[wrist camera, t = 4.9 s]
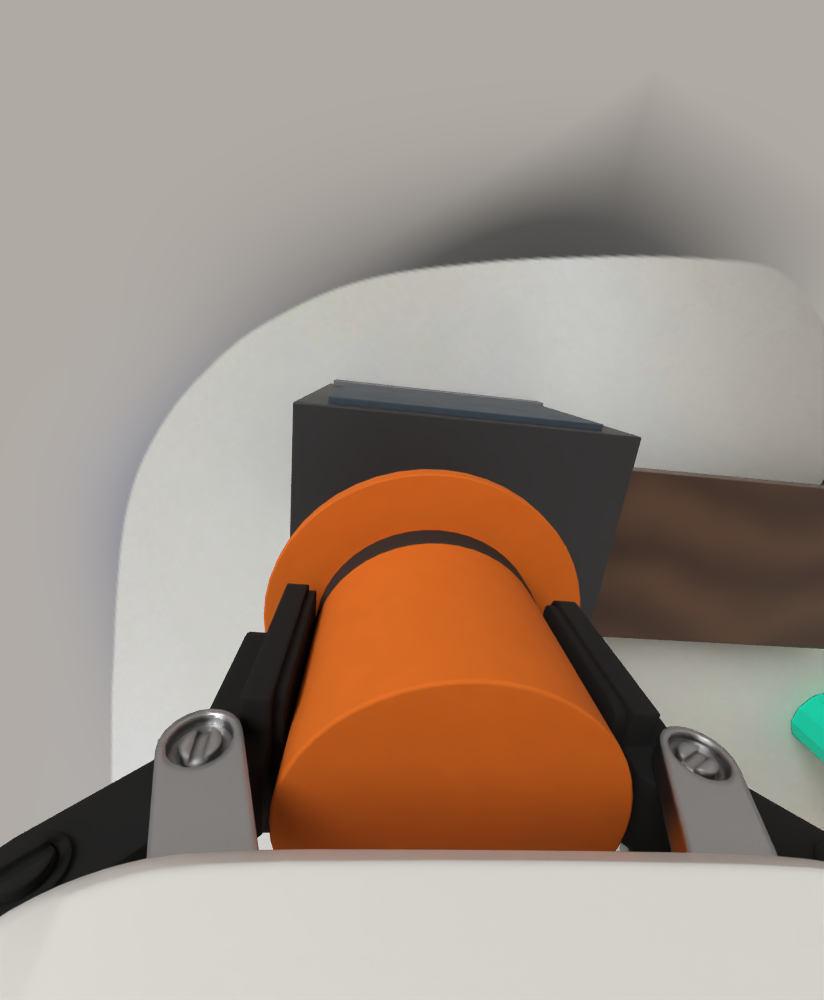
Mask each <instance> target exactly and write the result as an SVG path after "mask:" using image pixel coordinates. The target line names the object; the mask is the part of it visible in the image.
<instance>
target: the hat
mask: <svg viewBox="0 0 824 1000" xmlns="http://www.w3.org/2000/svg"><path fill="white" fill-rule="evenodd" d="M288 583H291V584H307V585H309V590H315V591H316V593H317V596H316V619H315V624H314V634H313V638H312V642H311V646H310V650H309V654H308V658H307V662H306V666H305V670H304V674H303V678H302V682H301V686H300V690H299V694H298V698H297V702H296V706H295V710H294V714H293V717H292V721H291V725H290V729H289V733H288V737H287V741H286V745H285V749H284V753H283V757H282V761H281V765H280V769H279V773H278V777H277V781H276V785H275V789H274V793H273V797H272V801H271V806H270V816H269V828H270V839H271V844H272V847H273V850H294V849H406V850H539V851H616V849H617V848H618V846H619V844H620V842H621V840H622V838H623V836H624V834H625V832H626V829H627V826H628V823H629V819H630V816H631V810H632V802H633V790H632V778H631V774H630V770H629V766H628V763H627V760H626V758H625V756H624V754H623V752H622V749H621V747H620V745H619V744H618V742H617V740H616V739H615V737H614V735H613V734H612V732H611V730H610V728H609V727H608V725H607V723H606V722H605V720H604V718H603V717H602V715H601V713H600V712H599V710H598V708H597V707H596V705H595V703H594V701H593V700H592V698H591V696H590V695H589V693H588V691H587V690H586V688H585V686H584V685H583V683H582V681H581V680H580V678H579V676H578V674H577V673H576V671H575V669H574V668H573V666H572V664H571V663H570V661H569V659H568V658H567V656H566V654H565V653H564V651H563V649H562V648H561V646H560V644H559V642H558V641H557V639H556V637H555V636H554V634H553V632H552V631H551V629H550V627H549V626H548V624H547V622H546V621H545V619H544V617H543V612H544V609H545V607H546V606H547V605H551V603H552V602H553V601H554V600H555V601H570V602H575V603H576V604H577V605H578V606H579V607H580V592H579V582H578V578H577V574H576V570H575V567H574V563H573V561H572V559H571V556H570V554H569V552H568V550H567V547H566V546H565V544H564V543H563V541H562V539H561V538H560V536H559V535H558V533H557V532H556V530H555V529H554V528H553V527H552V526H551V525H550V524H549V522H548V521H547V520H546V519H545V518H544V517H543V516H542V515H541V514H540V512H539V511H537V510H536V509H535V508H534V507H533V506H531V505H530V504H529V503H528V502H527V501H526V500H524V499H523V498H522V497H520V496H518V495H517V494H515V493H514V492H512V491H510V490H509V489H507V488H505V487H503V486H501V485H499V484H496V483H494V482H492V481H490V480H487V479H484V478H481V477H477V476H474V475H471V474H467V473H462V472H455V471H449V470H434V469H418V470H409V471H399V472H395V473H390V474H386V475H382V476H377V477H374V478H372V479H369V480H366V481H364V482H361V483H358V484H356V485H354V486H352V487H350V488H348V489H346V490H344V491H342V492H340V493H338V494H337V495H335V496H334V497H332V498H331V499H329V500H328V501H327V502H325V503H324V504H322V505H321V506H320V507H318V508H317V509H316V510H315V511H314V512H313V513H312V514H311V515H310V516H309V517H308V518H306V519H305V520H304V521H303V522H302V524H301V525H300V526H299V527H298V529H297V530H296V531H295V532H294V533H293V535H292V536H291V537H290V539H289V541H288V542H287V544H286V546H285V547H284V549H283V551H282V552H281V554H280V556H279V558H278V560H277V562H276V564H275V567H274V569H273V572H272V574H271V577H270V579H269V584H268V588H267V592H266V596H265V607H264V624H265V633H267V631H268V628H269V626H270V624H271V621H272V619H273V616H274V614H275V612H276V609H277V607H278V604H279V602H280V600H281V597H282V595H283V592H284V590H285V588H286V585H287V584H288Z"/></svg>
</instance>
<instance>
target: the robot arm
mask: <svg viewBox="0 0 824 1000" xmlns="http://www.w3.org/2000/svg"><path fill="white" fill-rule="evenodd" d="M316 596H317V593H316V591H315V590H309V585H307V584H291V583H288V584H287V585H286V588H285V590H284V592H283V595H282V597H281V600H280V602H279V604H278V607H277V609H276V612H275V614H274V616H273V619H272V621H271V624H270V626H269V628H268V631H267V633H261V632H249V633H247V635H246V636H245V638H244V640H243V642H242V644H241V646H240V648H239V650H238V652H237V654H236V656H235V658H234V661H233V663H232V665H231V667H230V669H229V671H228V673H227V675H226V677H225V679H224V681H223V683H222V685H221V687H220V689H219V691H218V693H217V695H216V697H215V700H214V702H213V704H212V706H211V708H210V709H206V710H199V711H196V712H193V713H190V714H187V715H186V716H184V717H182V718H180V719H179V720H177V721H175V722H174V723H173V724H172V725H171V726H170V727H168V728H167V729H166V730H165V731H164V733H163V734H162V736H161V737H160V739H159V740H158V743H157V746H156V750H155V758H154V760H153V761H151V762H149V763H148V764H146V765H144V766H142V767H140V768H139V769H137V770H135V771H133V772H131V773H130V774H128V775H126V776H124V777H123V778H121V779H119V780H117V781H115V782H114V783H112V784H110V785H108V786H107V787H105V788H103V789H101V790H99V791H98V792H96V793H94V794H92V795H90V796H89V797H87V798H85V799H83V800H81V801H80V802H78V803H76V804H74V805H73V806H71V807H69V808H67V809H65V810H64V811H62V812H60V813H58V814H56V815H55V816H53V817H51V818H49V819H47V820H46V821H44V822H42V823H41V824H39V825H37V826H35V827H33V828H31V829H30V830H28V831H26V832H24V833H22V834H21V835H19V836H17V837H15V838H14V839H12V840H11V841H9V842H8V843H6V844H5V845H3V846H2V847H0V1000H824V831H823V830H821V829H819V828H817V827H816V826H814V825H812V824H810V823H809V822H807V821H805V820H803V819H802V818H800V817H798V816H796V815H795V814H793V813H791V812H789V811H788V810H786V809H784V808H782V807H781V806H779V805H777V804H775V803H774V802H772V801H770V800H768V799H767V798H765V797H763V796H761V795H760V794H758V793H756V792H754V791H753V790H751V789H749V788H748V786H747V784H746V782H745V780H744V777H743V775H742V773H741V770H740V768H739V767H738V765H737V763H736V762H735V760H734V758H733V757H732V756H731V755H730V754H729V753H728V752H727V751H726V750H725V749H724V748H723V747H722V746H720V745H719V744H718V743H716V742H715V741H714V740H712V739H711V738H709V737H707V736H705V735H704V734H702V733H700V732H697V731H695V730H692V729H689V728H685V727H680V726H673V727H668V728H667V727H666V726H665V725H664V723H663V722H662V721H661V719H660V718H659V717H660V714H659V712H658V711H657V710H656V708H655V707H654V706H653V704H652V703H651V702H650V700H649V699H648V698H647V696H646V695H645V694H644V692H643V691H642V690H641V688H640V687H639V686H638V684H637V683H636V682H635V680H634V679H633V678H632V676H631V675H630V674H629V672H628V671H627V670H626V668H625V667H624V666H623V664H622V663H621V662H620V660H619V659H618V658H617V657H616V655H615V654H614V653H613V651H612V650H611V649H610V647H609V646H608V645H607V643H606V642H605V641H604V639H603V638H602V637H601V635H600V634H599V633H598V631H597V630H596V629H595V627H594V626H593V625H592V623H591V622H590V621H589V619H588V618H587V617H586V615H585V614H584V613H583V611H582V610H581V609H580V607H579V606H578V605H577V604H576V603H575V602H570V601H555V600H554V601H553V602H552V603H551V605H547V606H546V607H545V609H544V612H543V617H544V619H545V621H546V622H547V624H548V626H549V627H550V629H551V631H552V632H553V634H554V636H555V637H556V639H557V641H558V642H559V644H560V646H561V648H562V649H563V651H564V653H565V654H566V656H567V658H568V659H569V661H570V663H571V664H572V666H573V668H574V669H575V671H576V673H577V674H578V676H579V678H580V680H581V681H582V683H583V685H584V686H585V688H586V690H587V691H588V693H589V695H590V696H591V698H592V700H593V701H594V703H595V705H596V707H597V708H598V710H599V712H600V713H601V715H602V717H603V718H604V720H605V722H606V723H607V725H608V727H609V728H610V730H611V732H612V734H613V735H614V737H615V739H616V740H617V742H618V744H619V745H620V747H621V749H622V752H623V754H624V756H625V758H626V760H627V763H628V766H629V770H630V774H631V778H632V790H633V802H632V810H631V816H630V819H629V823H628V826H627V829H626V832H625V834H624V836H623V838H622V840H621V842H620V852H617V851H539V850H406V849H294V850H259V849H258V841H257V838H258V837H259V836H260V835H261V834H262V833H270V828H269V816H270V806H271V801H272V797H273V793H274V789H275V785H276V781H277V777H278V773H279V769H280V765H281V761H282V757H283V753H284V749H285V745H286V741H287V737H288V733H289V729H290V725H291V721H292V717H293V714H294V710H295V706H296V702H297V698H298V694H299V690H300V686H301V682H302V678H303V674H304V670H305V666H306V662H307V658H308V654H309V650H310V646H311V642H312V638H313V634H314V624H315V619H316Z"/></svg>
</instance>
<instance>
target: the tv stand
mask: <svg viewBox="0 0 824 1000" xmlns="http://www.w3.org/2000/svg"><path fill="white" fill-rule="evenodd" d="M591 623H592V625H593V626H594V627H595V629H596V630H597V631H598V633H599V634H600V635H601V636H602V637H620V638H638V639H656V640H674V641H692V642H710V643H728V644H746V645H764V646H782V647H800V648H818V649H824V480H823V483H822V485H815V484H804V483H793V482H783V481H772V480H762V479H751V478H741V477H730V476H720V475H709V474H699V473H688V472H677V471H667V470H656V469H646V468H635V467H633V470H632V474H631V478H630V481H629V485H628V489H627V492H626V496H625V500H624V503H623V507H622V511H621V514H620V518H619V522H618V525H617V529H616V533H615V536H614V540H613V544H612V547H611V551H610V555H609V558H608V562H607V566H606V569H605V573H604V577H603V580H602V584H601V588H600V591H599V595H598V599H597V602H596V606H595V610H594V613H593V617H592V621H591Z"/></svg>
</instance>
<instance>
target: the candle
mask: <svg viewBox="0 0 824 1000" xmlns="http://www.w3.org/2000/svg"><path fill="white" fill-rule="evenodd" d="M791 726H792V734H793V735H794V736H795V737H796V738H797V739H799V740H800V741H801V742H802V743H803V744H804V745H805V746H806V747H807V748H808V749H809V750H811V751H812V752H813V753H814V754H815V755H816V756H817V757H818V758H819V759H820V760H821V761H823V762H824V693H823V694H820V695H817V696H814V697H812V698H811V699H810V700H808V701H807V702H806V703H804V704H803V705H802V706H801V707H799V708H798V710H797V712H796V714H795V715H794V717H793V719H792V721H791Z"/></svg>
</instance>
